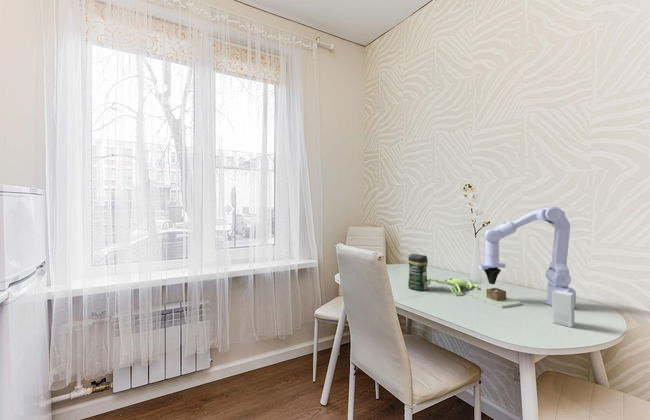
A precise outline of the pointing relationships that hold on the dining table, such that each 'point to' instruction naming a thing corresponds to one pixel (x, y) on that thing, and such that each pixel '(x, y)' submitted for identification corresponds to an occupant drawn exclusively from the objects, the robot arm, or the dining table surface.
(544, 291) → the dining table surface
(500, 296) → the collar
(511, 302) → the board
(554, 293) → the skincare box
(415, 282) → the coffee jar
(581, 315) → the dining table surface
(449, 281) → the figurine
